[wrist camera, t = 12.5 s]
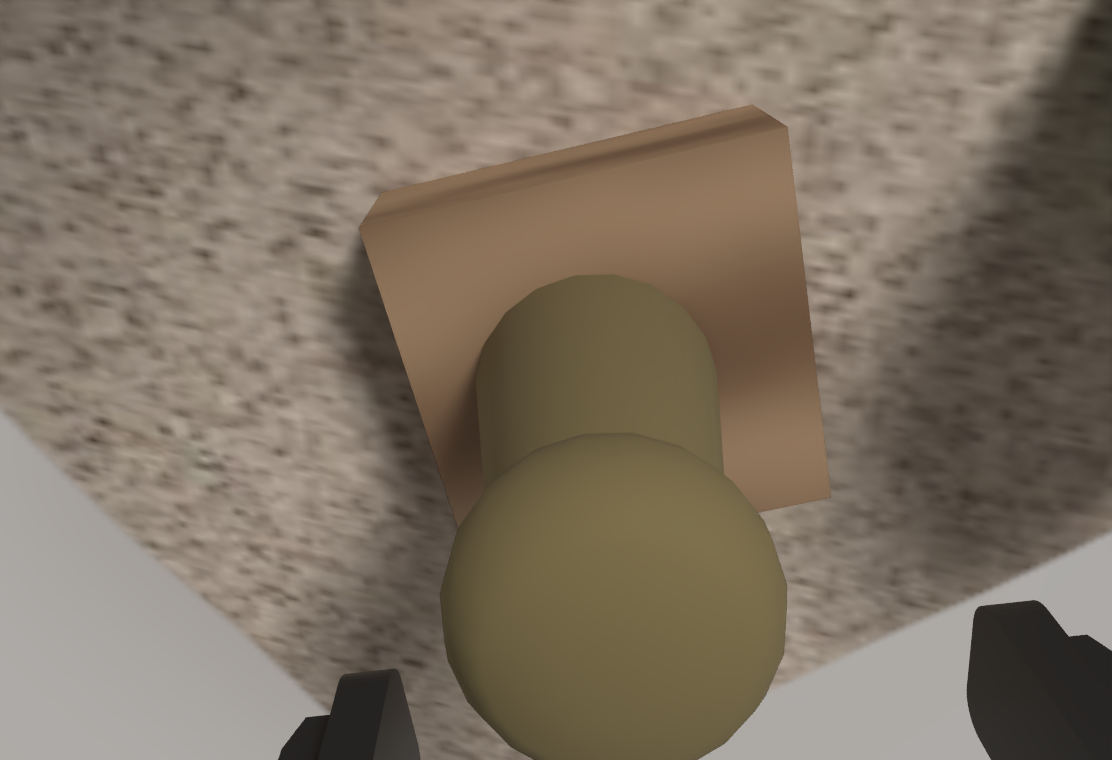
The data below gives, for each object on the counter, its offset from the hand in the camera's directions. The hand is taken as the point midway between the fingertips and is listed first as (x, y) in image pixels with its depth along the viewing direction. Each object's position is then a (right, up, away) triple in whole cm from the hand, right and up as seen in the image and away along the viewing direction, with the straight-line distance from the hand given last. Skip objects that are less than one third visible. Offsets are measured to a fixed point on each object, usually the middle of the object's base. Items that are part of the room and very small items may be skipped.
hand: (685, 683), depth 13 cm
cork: (-1, +4, +10) cm, 11 cm away
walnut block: (0, +6, +14) cm, 15 cm away
